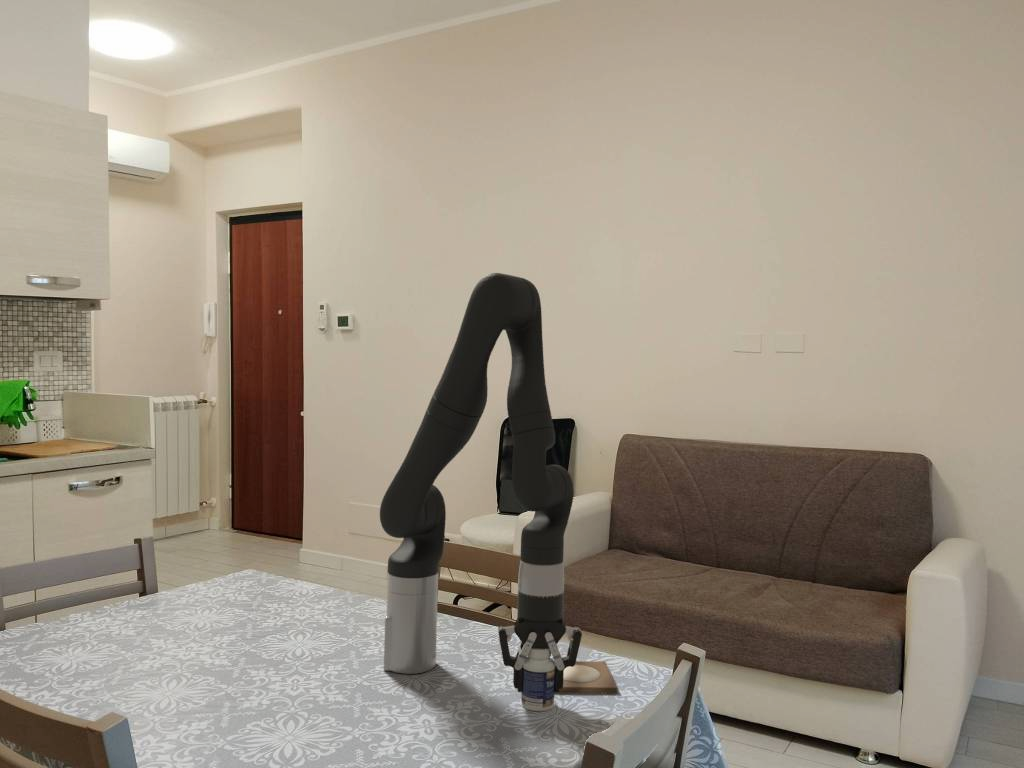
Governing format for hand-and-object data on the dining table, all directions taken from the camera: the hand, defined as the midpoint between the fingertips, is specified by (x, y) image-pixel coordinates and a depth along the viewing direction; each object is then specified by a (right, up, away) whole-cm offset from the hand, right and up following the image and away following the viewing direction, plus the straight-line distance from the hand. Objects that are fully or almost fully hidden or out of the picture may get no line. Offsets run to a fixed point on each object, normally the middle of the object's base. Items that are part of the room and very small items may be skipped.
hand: (538, 690), depth 131 cm
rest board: (+7, -2, +11) cm, 14 cm away
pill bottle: (0, -3, 0) cm, 3 cm away
